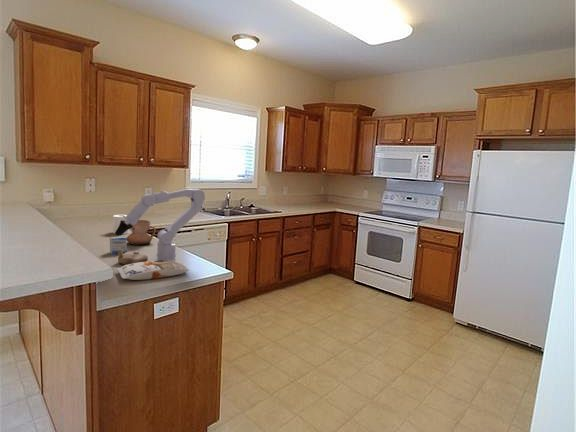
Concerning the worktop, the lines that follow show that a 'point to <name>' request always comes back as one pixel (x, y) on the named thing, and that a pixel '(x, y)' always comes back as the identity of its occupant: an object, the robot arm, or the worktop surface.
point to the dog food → (152, 269)
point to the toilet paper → (118, 223)
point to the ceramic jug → (140, 233)
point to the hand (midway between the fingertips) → (117, 234)
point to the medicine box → (117, 244)
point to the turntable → (131, 258)
